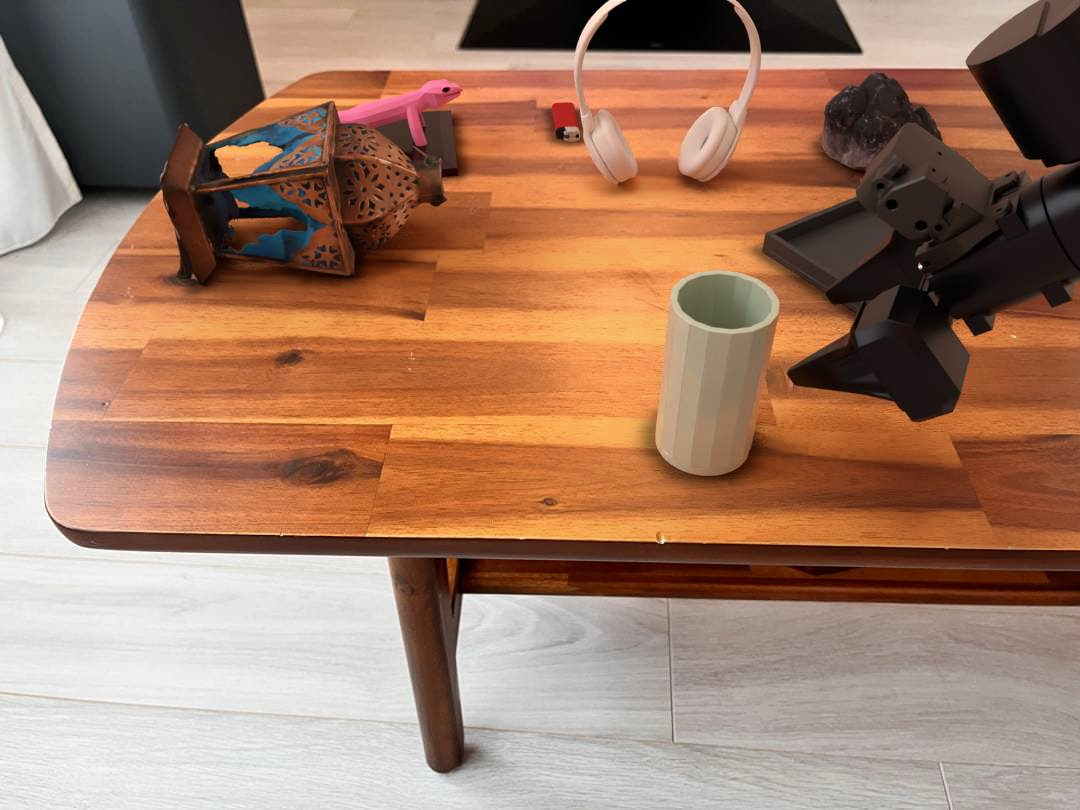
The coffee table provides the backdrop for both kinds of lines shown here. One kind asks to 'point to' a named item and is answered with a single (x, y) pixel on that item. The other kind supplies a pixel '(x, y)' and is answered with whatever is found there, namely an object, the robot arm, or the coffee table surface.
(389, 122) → the lizard figurine
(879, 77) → the crystal cluster
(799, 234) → the tray
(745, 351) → the tumbler
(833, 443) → the coffee table surface
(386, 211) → the lantern
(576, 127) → the lighter
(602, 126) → the headphones
